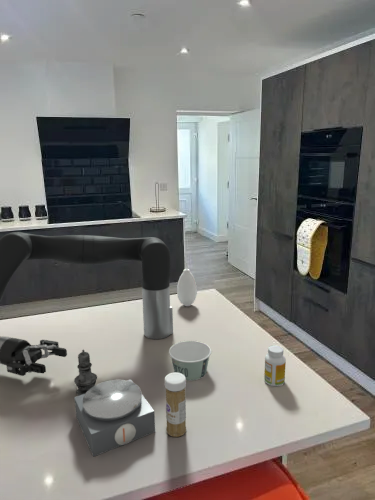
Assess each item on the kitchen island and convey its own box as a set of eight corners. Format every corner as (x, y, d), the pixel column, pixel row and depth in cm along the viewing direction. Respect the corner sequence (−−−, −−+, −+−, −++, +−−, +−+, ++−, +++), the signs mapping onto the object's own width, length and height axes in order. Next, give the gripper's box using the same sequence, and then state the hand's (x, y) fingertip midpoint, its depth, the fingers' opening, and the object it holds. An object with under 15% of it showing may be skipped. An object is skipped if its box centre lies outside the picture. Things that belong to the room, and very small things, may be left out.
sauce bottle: (185, 300, 159) (184, 259, 155) (200, 304, 155) (200, 262, 151) (173, 306, 153) (172, 264, 149) (189, 310, 149) (188, 267, 144)
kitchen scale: (131, 398, 96) (130, 379, 95) (156, 433, 84) (155, 412, 82) (76, 417, 89) (74, 397, 88) (94, 458, 77) (92, 436, 76)
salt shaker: (92, 398, 96) (88, 356, 93) (71, 396, 97) (66, 354, 94) (102, 385, 102) (98, 344, 99) (81, 383, 103) (77, 343, 100)
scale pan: (129, 383, 94) (129, 373, 94) (151, 412, 83) (150, 402, 83) (77, 400, 88) (76, 390, 87) (93, 434, 77) (92, 423, 76)
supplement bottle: (285, 377, 104) (287, 345, 102) (283, 388, 99) (285, 355, 97) (265, 374, 106) (266, 342, 103) (262, 384, 101) (264, 352, 98)
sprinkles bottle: (162, 431, 84) (160, 378, 81) (175, 420, 88) (174, 369, 84) (177, 441, 81) (176, 386, 78) (190, 429, 85) (190, 376, 81)
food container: (218, 366, 110) (218, 345, 108) (199, 388, 100) (199, 366, 98) (182, 356, 116) (181, 336, 114) (161, 376, 105) (160, 355, 104)
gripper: (-15, 351, 99) (35, 361, 93) (25, 328, 112) (71, 336, 106) (-11, 376, 101) (38, 388, 95) (28, 351, 114) (73, 360, 108)
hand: (55, 360), depth 101 cm, fingers open, 8 cm apart
